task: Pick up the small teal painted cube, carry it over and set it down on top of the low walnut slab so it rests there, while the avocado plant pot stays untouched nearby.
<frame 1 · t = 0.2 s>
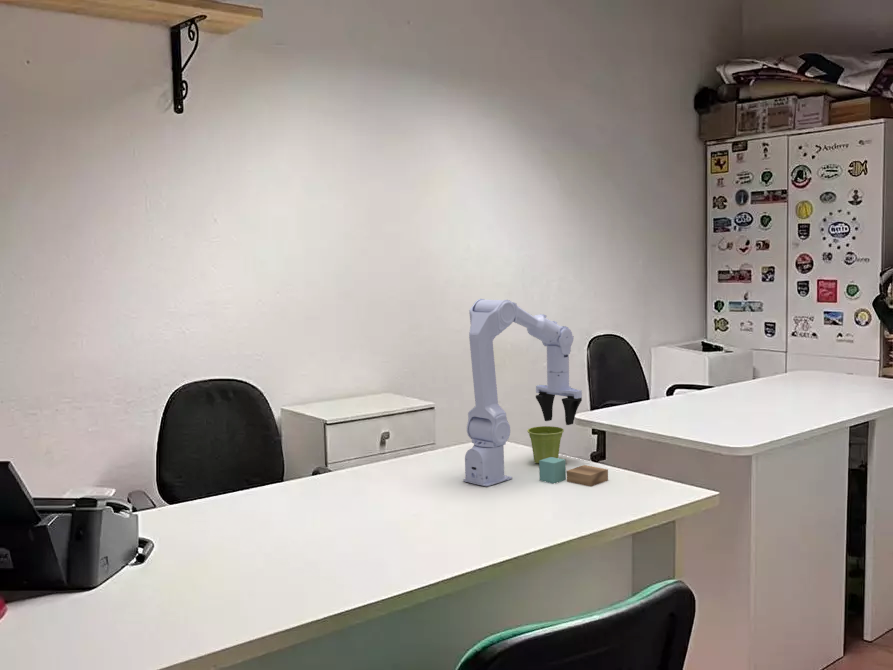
hand: (558, 422, 236), 10 cm above the table, fingers open, 7 cm apart
plant pot: (546, 463, 235), on the table
walnut slab: (587, 482, 216), on the table
teal cube: (552, 480, 217), on the table
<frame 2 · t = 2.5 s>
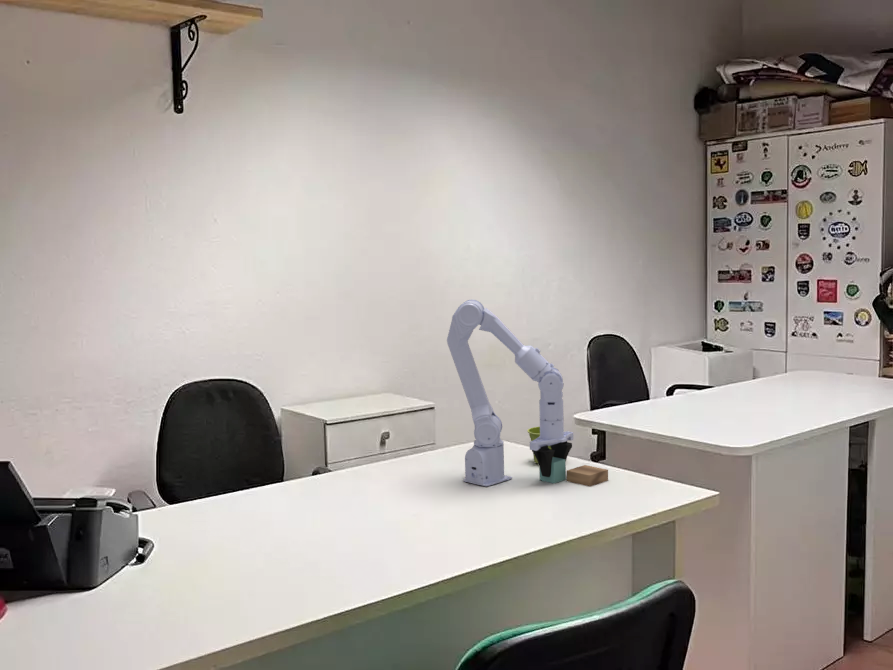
hand: (552, 474, 217), 1 cm above the table, fingers closed on teal cube, 4 cm apart
teal cube: (552, 479, 217), on the table, touching gripper
everything else where it was.
when the fingers open (5 cm above the table, at t = 5.0 s): teal cube stays where it is, point 3 cm above the table.
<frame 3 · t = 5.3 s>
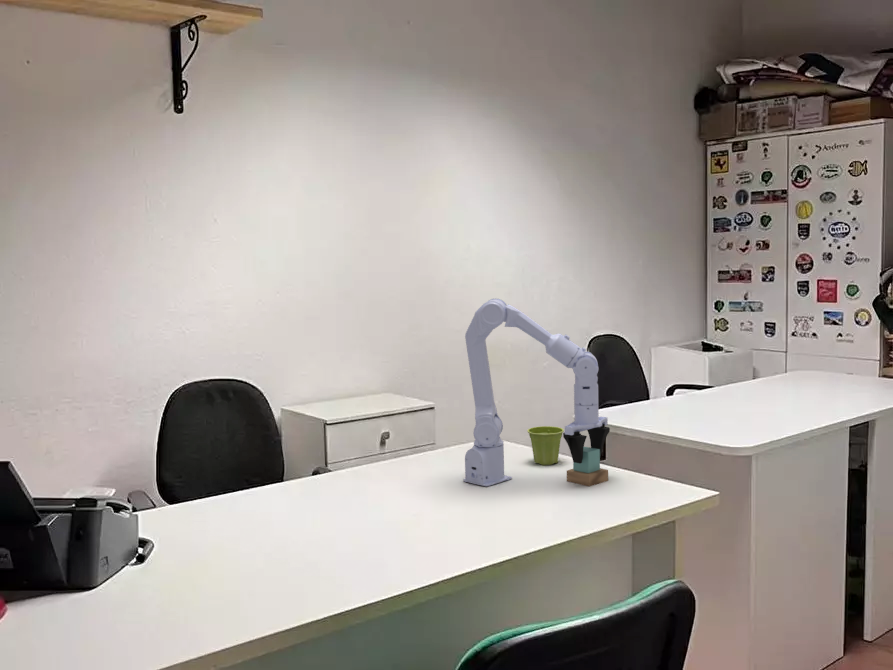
hand: (587, 459, 215), 5 cm above the table, fingers open, 7 cm apart
teal cube: (586, 469, 215), point 3 cm above the table
everything else where it was.
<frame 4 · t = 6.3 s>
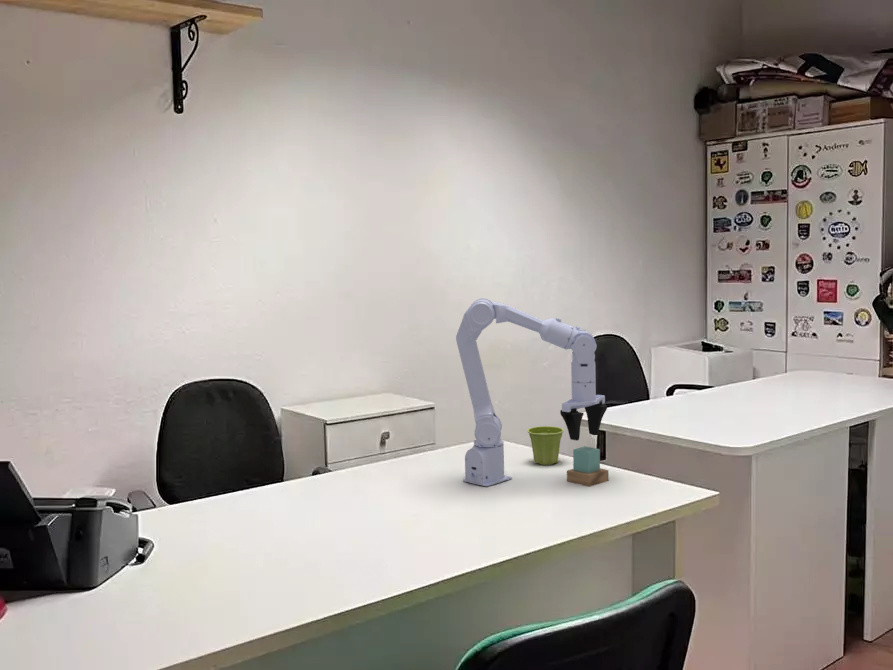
hand: (584, 437, 216), 10 cm above the table, fingers open, 7 cm apart
nothing on the table moved.
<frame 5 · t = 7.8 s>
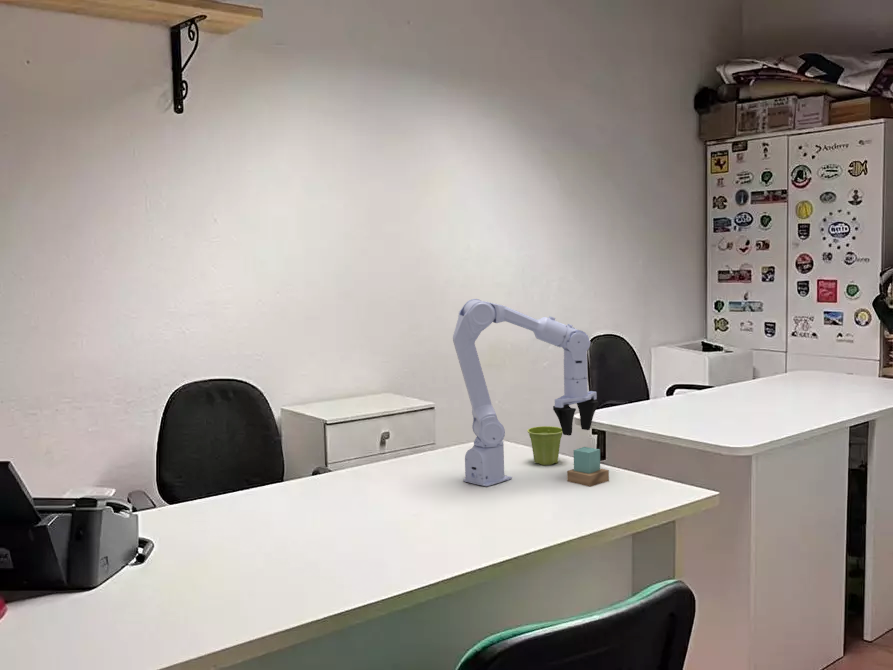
hand: (576, 432, 221), 10 cm above the table, fingers open, 7 cm apart
nothing on the table moved.
at the end: teal cube 0.2 cm off-centre on the walnut slab, point 3.0 cm above the walnut slab's base; teal cube tilted 0°; teal cube touching walnut slab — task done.
